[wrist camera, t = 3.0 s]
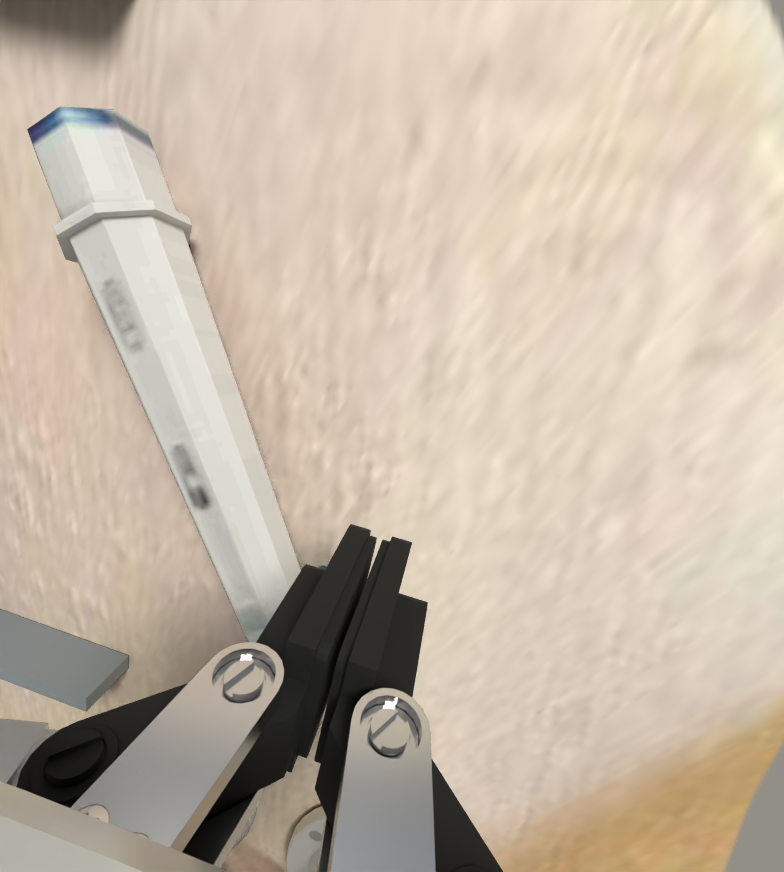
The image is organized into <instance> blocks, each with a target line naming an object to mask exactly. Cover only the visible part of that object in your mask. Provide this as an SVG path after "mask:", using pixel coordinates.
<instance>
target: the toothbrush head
mask: <svg viewBox="0 0 784 872" xmlns="http://www.w3.org/2000/svg"><path fill="white" fill-rule="evenodd" d="M27 130H28V133H29V135H30V138H31V141H32V144H33V146H34V149H35V152H36V155H37V158H38V160H39V163H40V165H41V168H42V171H43V173H44V176H45V178H46V181H47V184H48V186H49V189H50V191H51V194H52V197H53V199H54V202H55V204H56V207H57V210H58V212H59V215H60V217H61V220H62V221H60V222H58V223H57V224H55V225H53V228H54V231H55V234H56V236H57V239H58V241H59V244H60V246H61V249H62V251H63V254H64V256H65V259H66V260H70V261H74V262H78V263H79V265H80V268H81V270H82V272H83V274H84V276H85V279H86V281H87V283H88V285H89V288H90V290H91V292H92V294H93V297H94V299H95V301H96V303H97V306H98V308H99V310H100V312H101V315H102V317H103V319H104V321H105V323H106V326H107V328H108V330H109V332H110V335H111V337H112V339H113V341H114V344H115V346H116V348H117V350H118V353H119V355H120V357H121V359H122V362H123V364H124V366H125V368H126V370H127V373H128V375H129V377H130V379H131V382H132V384H133V386H134V388H135V391H136V393H137V395H138V397H139V400H140V402H141V404H142V406H143V408H144V411H145V413H146V415H147V417H148V420H149V422H150V424H151V426H152V429H153V431H154V433H155V435H156V438H157V440H158V442H159V444H160V447H161V449H162V451H163V453H164V455H165V458H166V460H167V462H168V464H169V467H170V469H171V471H172V473H173V476H174V478H175V480H176V482H177V485H178V487H179V489H180V491H181V494H182V496H183V498H184V500H185V502H186V505H187V507H188V509H189V511H190V514H191V516H192V518H193V520H194V523H195V525H196V527H197V529H198V532H199V534H200V536H201V538H202V541H203V543H204V545H205V547H206V549H207V552H208V554H209V556H210V558H211V561H212V563H213V565H214V567H215V570H216V572H217V574H218V576H219V579H220V581H221V583H222V585H223V588H224V590H225V592H226V594H227V596H228V599H229V601H230V603H231V605H232V608H233V610H234V612H235V614H236V617H237V619H238V621H239V623H240V626H241V628H242V630H243V632H244V635H245V637H246V639H247V641H248V642H254V643H256V641H257V640H258V638H259V637H260V635H261V633H262V632H263V630H264V629H265V627H266V626H267V624H268V622H269V621H270V619H271V618H272V616H273V614H274V613H275V611H276V610H277V608H278V606H279V605H280V603H281V602H282V600H283V599H284V597H285V595H286V594H287V592H288V591H289V589H290V587H291V586H292V584H293V583H294V581H295V579H296V578H297V576H298V575H299V573H300V571H301V570H300V567H299V564H298V561H297V558H296V555H295V552H294V549H293V546H292V544H291V541H290V538H289V535H288V532H287V529H286V526H285V523H284V520H283V518H282V515H281V512H280V509H279V506H278V503H277V500H276V497H275V494H274V492H273V489H272V486H271V483H270V480H269V477H268V474H267V471H266V468H265V465H264V463H263V460H262V457H261V454H260V451H259V448H258V445H257V442H256V439H255V437H254V434H253V431H252V428H251V425H250V422H249V419H248V416H247V413H246V411H245V408H244V405H243V402H242V399H241V396H240V393H239V390H238V387H237V385H236V382H235V379H234V376H233V373H232V370H231V367H230V364H229V361H228V359H227V356H226V353H225V350H224V347H223V344H222V341H221V338H220V335H219V333H218V330H217V327H216V324H215V321H214V318H213V315H212V312H211V309H210V307H209V304H208V301H207V298H206V295H205V292H204V289H203V286H202V283H201V280H200V278H199V275H198V272H197V269H196V266H195V263H194V260H193V257H192V254H191V252H190V249H189V240H190V233H191V227H192V225H191V222H190V219H189V217H188V216H186V215H183V214H181V213H179V212H177V211H176V209H175V206H174V204H173V201H172V198H171V195H170V193H169V190H168V187H167V184H166V182H165V179H164V176H163V173H162V171H161V168H160V165H159V162H158V160H157V157H156V154H155V151H154V149H153V146H152V143H151V140H150V138H149V135H148V132H146V131H145V130H143V129H142V128H140V127H139V126H137V125H136V124H134V123H133V122H131V121H130V120H128V119H127V118H125V117H124V116H122V115H121V114H119V113H118V112H116V111H115V110H113V109H96V108H75V107H59V108H57V109H56V110H54V111H53V112H51V113H50V114H49V115H47V116H46V117H44V118H43V119H41V120H40V121H39V122H37V123H36V124H34V125H33V126H31V127H30V128H29V129H27ZM317 568H320V569H323V570H326V568H327V567H325V566H320V567H317ZM326 706H327V705H326ZM325 711H326V708H325ZM325 711H324V713H323V716H322V719H321V722H322V721H323V720H324V715H325ZM321 722H320V723H321Z"/></svg>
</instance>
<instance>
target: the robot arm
mask: <svg viewBox="0 0 784 872" xmlns="http://www.w3.org/2000/svg"><path fill="white" fill-rule="evenodd" d="M370 532H371V530H369V529H366V528H362V527H359V526H355V525H352V524H351V525H350V526H349V528H348V529H347V531H346V533H345V535H344V537H343V539H342V540H341V542H340V544H339V546H338V548H337V550H336V551H335V553H334V555H333V557H332V559H331V561H330V562H329V564H328V566H327V568H326V570H323V569H320V568H317V567H313V566H310V565H305V566H304V567H303V569H302V570H301V571H300V573H299V575H298V576H297V578H296V579H295V581H294V583H293V584H292V586H291V587H290V589H289V591H288V592H287V594H286V595H285V597H284V599H283V600H282V602H281V603H280V605H279V606H278V608H277V610H276V611H275V613H274V614H273V616H272V618H271V619H270V621H269V622H268V624H267V626H266V627H265V629H264V630H263V632H262V633H261V635H260V637H259V638H258V640H257V641H256V643H254V642H243V643H238V644H233V645H231V646H229V647H227V648H225V649H223V650H221V651H220V652H219V653H218V654H216V655H215V656H214V657H213V658H212V659H211V660H210V661H209V662H208V663H207V664H206V665H205V666H204V667H203V668H202V669H201V670H200V671H199V672H198V674H197V675H196V676H195V677H194V678H193V679H192V680H191V681H190V682H189V683H187V684H184V685H181V686H178V687H176V688H173V689H170V690H167V691H164V692H161V693H158V694H155V695H153V696H150V697H147V698H144V699H141V700H138V701H135V702H132V703H130V704H127V705H124V706H121V707H118V708H115V709H112V710H109V711H107V712H104V713H101V714H98V715H95V716H92V717H89V718H86V719H84V720H81V721H78V722H75V723H73V724H71V725H69V726H67V727H64V728H62V729H60V730H51V729H49V725H48V723H44V722H33V721H22V720H11V719H0V872H229V871H227V870H224V869H222V868H221V866H222V864H223V863H224V861H225V859H226V857H227V856H228V854H229V852H230V851H231V849H232V847H233V845H234V844H235V842H236V840H237V838H238V837H239V835H240V833H241V832H242V830H243V828H244V826H245V825H246V823H247V821H248V820H249V818H250V816H251V814H252V813H253V811H254V809H255V808H256V806H257V804H258V802H259V801H260V799H261V797H262V794H263V792H264V789H265V787H266V786H268V785H270V784H272V783H274V782H276V781H277V780H279V779H281V778H283V777H284V776H285V773H286V771H288V772H292V769H293V767H294V764H295V762H296V759H297V757H298V755H299V756H302V757H305V758H307V756H308V754H309V752H310V749H311V746H312V743H313V741H314V738H315V735H316V733H317V730H318V727H319V724H320V722H321V719H322V716H323V713H324V711H325V708H326V711H325V715H324V720H323V724H322V729H321V733H320V737H319V742H318V746H317V751H316V755H315V760H314V761H316V762H319V763H321V765H320V769H319V773H318V777H317V782H316V786H315V790H316V792H317V795H318V797H319V800H320V802H321V805H322V806H321V807H319V808H316V809H314V810H313V811H311V812H310V813H308V814H307V815H306V816H304V817H303V818H302V820H301V821H300V822H299V823H298V824H297V826H296V828H295V830H294V833H293V835H292V838H291V840H290V843H289V846H288V850H287V854H286V870H287V872H503V871H502V869H501V868H500V866H499V864H498V863H497V861H496V860H495V858H494V856H493V855H492V853H491V852H490V850H489V849H488V847H487V845H486V844H485V842H484V841H483V839H482V838H481V836H480V834H479V833H478V831H477V830H476V828H475V826H474V825H473V823H472V822H471V820H470V819H469V817H468V815H467V814H466V812H465V811H464V809H463V808H462V806H461V804H460V803H459V801H458V800H457V798H456V796H455V795H454V793H453V792H452V790H451V789H450V787H449V785H448V784H447V782H446V781H445V779H444V778H443V776H442V774H441V773H440V771H439V770H438V768H437V766H436V765H435V763H434V762H433V760H432V759H431V733H430V727H429V722H428V719H427V717H426V715H425V713H424V711H423V709H422V708H421V706H420V705H419V704H418V703H417V702H416V701H415V700H414V699H413V698H412V696H413V690H414V684H415V678H416V672H417V666H418V660H419V654H420V648H421V642H422V636H423V630H424V624H425V617H426V611H427V605H428V604H427V602H425V601H422V600H419V599H415V598H412V597H409V596H406V595H403V594H399V590H400V586H401V582H402V578H403V575H404V571H405V567H406V563H407V560H408V556H409V552H410V548H411V545H412V542H409V541H406V540H402V539H399V538H396V537H392V538H391V541H390V542H389V541H386V540H382V543H381V545H380V548H379V551H378V553H377V556H376V558H375V561H374V564H373V566H372V569H371V571H370V574H369V569H370V565H371V561H372V557H373V553H374V548H375V544H376V539H377V538H376V537H373V536H370ZM368 574H369V577H368ZM367 578H368V579H367ZM326 705H327V706H326Z"/></svg>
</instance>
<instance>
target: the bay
mask: <svg viewBox="0 0 784 872" xmlns="http://www.w3.org/2000/svg"><path fill="white" fill-rule="evenodd" d="M128 659H129V656H128V655H126V654H123V653H120V652H117V651H114V650H112V649H109V648H106V647H103V646H101V645H98V644H95V643H92V642H90V641H87V640H84V639H81V638H78V637H76V636H73V635H70V634H67V633H65V632H62V631H59V630H56V629H54V628H51V627H48V626H45V625H42V624H40V623H37V622H34V621H31V620H29V619H26V618H23V617H20V616H18V615H15V614H12V613H9V612H6V611H4V610H1V609H0V679H2V680H5V681H8V682H10V683H13V684H15V685H18V686H21V687H23V688H26V689H28V690H31V691H34V692H36V693H39V694H42V695H44V696H47V697H49V698H52V699H55V700H57V701H60V702H62V703H65V704H68V705H70V706H73V707H76V708H78V709H81V710H83V711H87V710H88V709H89V708H90V707H91V706H92V705H93V704H94V703H95V702H96V701H97V700H98V699H99V698H100V697H101V696H102V695H103V694H104V693H105V692H106V691H107V690H108V689H109V687H110V686H111V685H112V684H113V683H114V682H115V681H116V680H117V679H118V678H119V677H120V676H121V675H122V674H123V673H124V672H125V671H126V670H127V669H128Z"/></svg>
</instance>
